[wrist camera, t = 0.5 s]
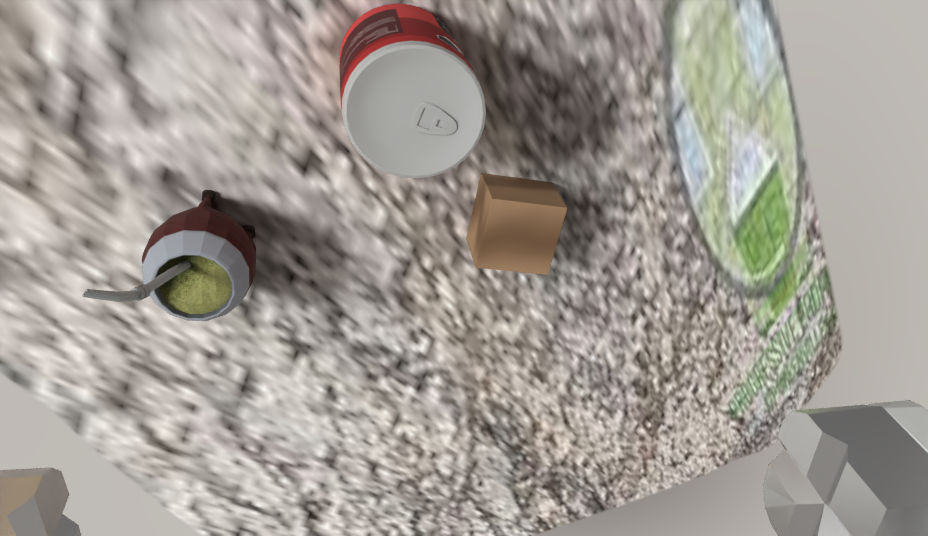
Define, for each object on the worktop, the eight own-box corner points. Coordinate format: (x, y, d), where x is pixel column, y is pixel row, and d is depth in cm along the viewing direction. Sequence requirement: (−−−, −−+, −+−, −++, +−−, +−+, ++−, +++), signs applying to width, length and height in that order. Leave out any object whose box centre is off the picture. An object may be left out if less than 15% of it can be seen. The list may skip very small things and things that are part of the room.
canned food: (451, 119, 53) (477, 183, 44) (335, 111, 52) (338, 175, 42) (465, 7, 49) (497, 51, 40) (341, -6, 48) (345, 36, 39)
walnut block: (481, 172, 56) (492, 198, 52) (551, 181, 57) (567, 207, 53) (466, 238, 58) (475, 267, 55) (533, 245, 60) (547, 274, 56)
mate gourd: (260, 272, 57) (241, 403, 44) (149, 269, 55) (95, 403, 43) (260, 181, 53) (239, 295, 41) (141, 175, 52) (80, 290, 39)
